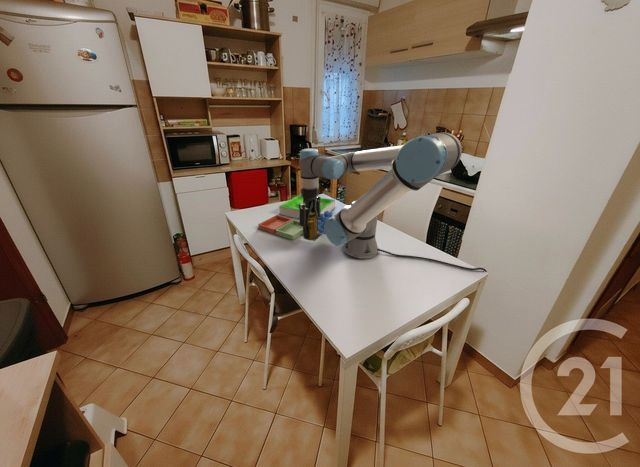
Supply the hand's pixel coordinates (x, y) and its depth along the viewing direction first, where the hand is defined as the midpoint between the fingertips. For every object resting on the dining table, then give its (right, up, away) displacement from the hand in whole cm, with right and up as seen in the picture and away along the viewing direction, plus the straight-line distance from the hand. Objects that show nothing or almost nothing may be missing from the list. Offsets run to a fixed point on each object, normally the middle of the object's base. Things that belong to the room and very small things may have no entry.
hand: (310, 235), depth 122 cm
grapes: (+6, +1, +15) cm, 16 cm away
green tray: (-10, +2, +15) cm, 18 cm away
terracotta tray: (-20, +5, +21) cm, 29 cm away
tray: (-3, +15, +40) cm, 43 cm away
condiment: (0, -1, +1) cm, 1 cm away
